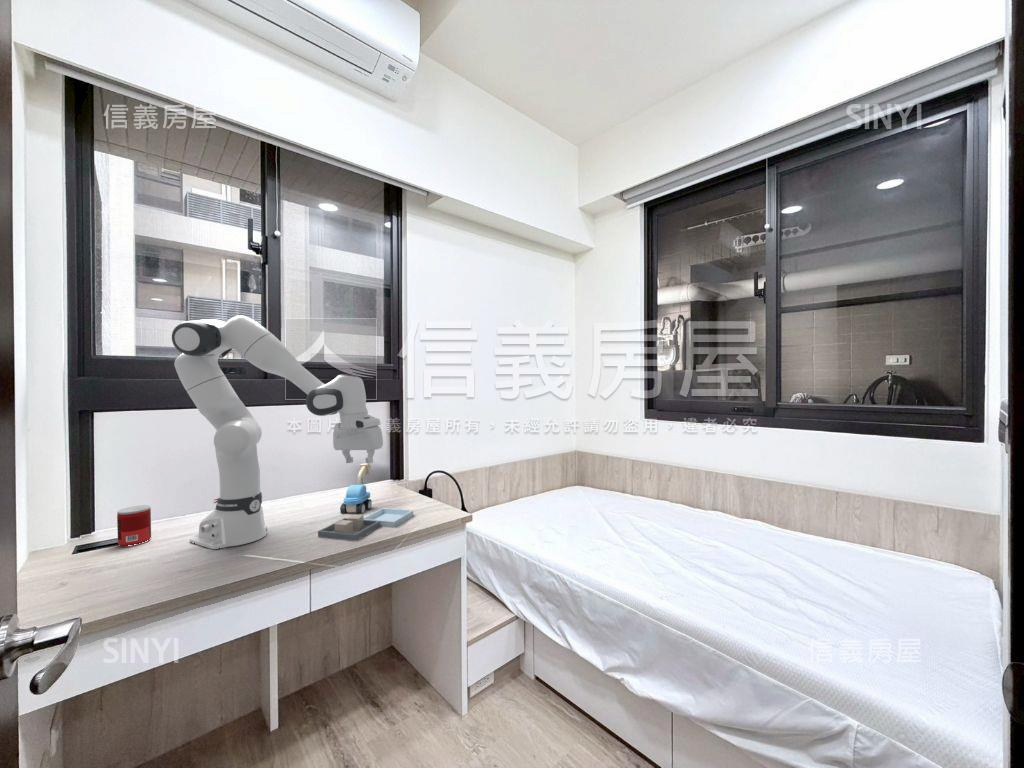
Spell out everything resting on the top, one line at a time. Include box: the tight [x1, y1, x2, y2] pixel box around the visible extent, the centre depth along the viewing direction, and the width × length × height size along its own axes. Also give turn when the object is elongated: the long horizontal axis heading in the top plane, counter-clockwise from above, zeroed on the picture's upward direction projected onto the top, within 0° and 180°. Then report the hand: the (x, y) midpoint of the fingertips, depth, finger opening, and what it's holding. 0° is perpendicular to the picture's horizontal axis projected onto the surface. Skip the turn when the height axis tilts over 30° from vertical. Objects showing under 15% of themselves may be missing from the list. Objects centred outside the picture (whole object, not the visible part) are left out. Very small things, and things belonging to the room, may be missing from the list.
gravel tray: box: [317, 517, 381, 542], centre depth 139 cm, size 14×13×2 cm
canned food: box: [116, 504, 152, 547], centre depth 133 cm, size 8×8×11 cm
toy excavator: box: [339, 462, 373, 515], centre depth 165 cm, size 9×17×17 cm, turn 174°
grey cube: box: [333, 519, 353, 534], centre depth 136 cm, size 4×4×4 cm
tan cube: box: [346, 514, 365, 530], centre depth 142 cm, size 4×4×4 cm
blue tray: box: [364, 507, 414, 528], centre depth 151 cm, size 13×13×2 cm
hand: (359, 463), depth 139 cm, fingers open, 8 cm apart
